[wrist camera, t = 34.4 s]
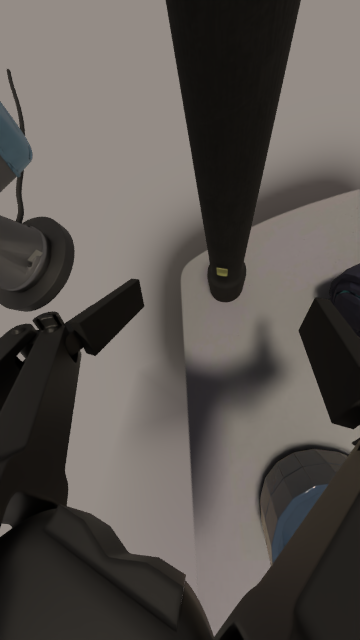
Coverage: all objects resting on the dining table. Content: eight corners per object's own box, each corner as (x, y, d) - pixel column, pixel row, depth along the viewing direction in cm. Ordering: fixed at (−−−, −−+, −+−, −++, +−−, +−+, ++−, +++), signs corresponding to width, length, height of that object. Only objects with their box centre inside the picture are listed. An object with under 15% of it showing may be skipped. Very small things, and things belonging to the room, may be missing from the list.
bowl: (240, 457, 22) (246, 495, 16) (369, 434, 19) (430, 470, 13) (292, 610, 18) (323, 729, 13) (462, 610, 15) (602, 765, 10)
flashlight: (214, 270, 27) (206, 298, 27) (166, -131, 4) (105, 12, 4) (245, 275, 26) (237, 305, 25) (410, -286, 3) (355, -84, 3)
